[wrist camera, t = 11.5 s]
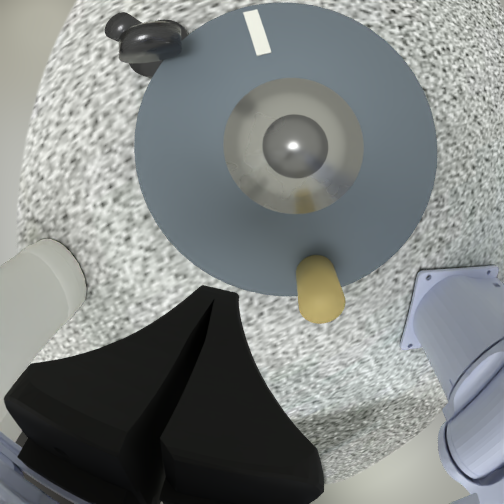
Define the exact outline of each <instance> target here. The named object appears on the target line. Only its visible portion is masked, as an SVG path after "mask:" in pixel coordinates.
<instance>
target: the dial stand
mask: <svg viewBox="0 0 504 504" xmlns="http://www.w3.org/2000/svg"><path fill="white" fill-rule="evenodd" d="M105 34H106V36H107V37H109V38H111V39H113V40H116V41H118V42H119V59H120V60H121V61H122V62H125V63H129V64H130V66H131V68H132V69H133V70H134V71H135V72H136V73H138V74H140V75H143V76H146V77H150V78H152V77H153V75H154V74H155V72H156V71H157V69H158V68H159V66H160V65H161V63H162V62H163V60H164V59H168V58H171V57H173V56H176V55H177V54H179V53H180V52H181V51H182V43H181V41H182V40H183V39H185V38H186V37H187V36H188V35H189V34H188V32H187V31H186V30H185V29H184V28H183V27H182V26H181V25H180V24H179V23H177V22H175V21H172V20H158V21H153V22H146V23H142V22H140V21H139V20H137V19H136V18H134V17H132V16H131V15H129V14H128V13H125V12H122V13H118V14H116V15H114V16H113V17H112V18H111V19H110V20H109V21H108V23H107V24H106V27H105Z"/></svg>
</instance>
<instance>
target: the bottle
mask: <svg viewBox="0 0 504 504" xmlns="http://www.w3.org/2000/svg"><path fill="white" fill-rule="evenodd" d="M86 291H87V289H86V283H85V277H84V275H83V273H82V270H81V268H80V266H79V263H78V262H77V260H76V259H75V258H74V256H73V255H72V253H71V252H70V251H69V250H68V249H67V248H65V247H64V246H63V245H62V244H61V243H59V242H57V241H54V240H52V239H42V240H40V241H38V242H37V243H35V244H32V245H30V246H28V247H26V248H25V249H24V250H22V251H21V252H20V253H19V254H18V255H16V256H15V257H13V258H12V259H10V260H9V261H7V262H6V263H4V264H3V265H1V266H0V401H1V400H2V398H3V397H4V396H5V394H6V393H7V392H8V390H9V389H10V388H11V386H12V385H13V384H14V383H15V381H16V380H17V379H18V377H19V376H20V375H21V374H22V372H23V371H24V370H25V369H26V368H27V366H28V365H29V364H30V363H31V362H32V360H33V359H34V358H35V357H36V356H37V354H38V353H39V352H40V351H41V350H42V349H43V347H44V346H45V345H46V344H47V343H48V342H49V341H50V339H51V338H52V337H53V336H54V335H55V334H56V333H57V332H58V330H59V329H60V328H61V327H62V326H63V325H64V324H66V323H67V322H68V321H69V320H70V319H71V318H72V317H73V315H74V314H75V313H76V311H77V310H78V309H79V308H80V307H81V305H82V304H83V302H84V301H85V298H86Z"/></svg>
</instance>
